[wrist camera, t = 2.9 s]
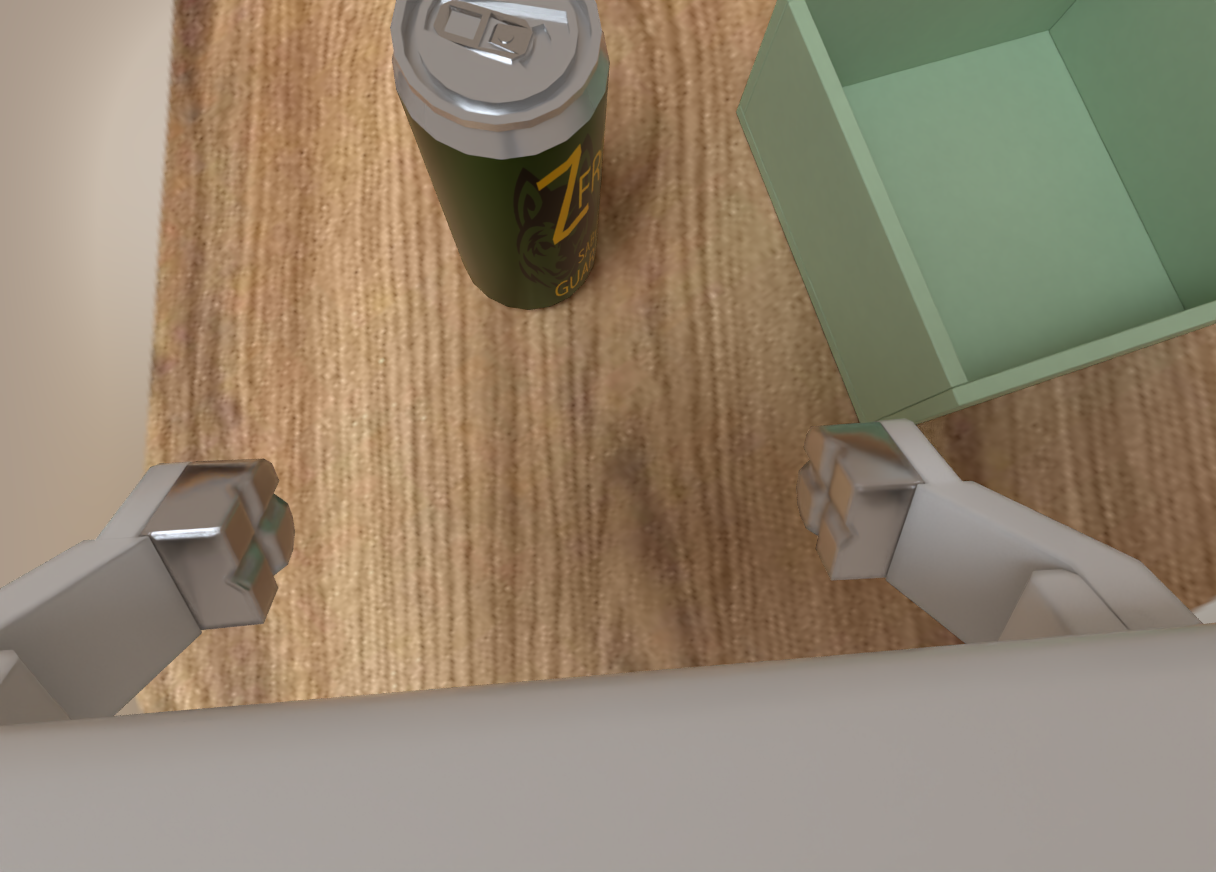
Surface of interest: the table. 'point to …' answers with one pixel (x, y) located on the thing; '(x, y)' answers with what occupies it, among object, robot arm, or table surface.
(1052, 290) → the green open box
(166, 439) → the table surface
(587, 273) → the beer can
